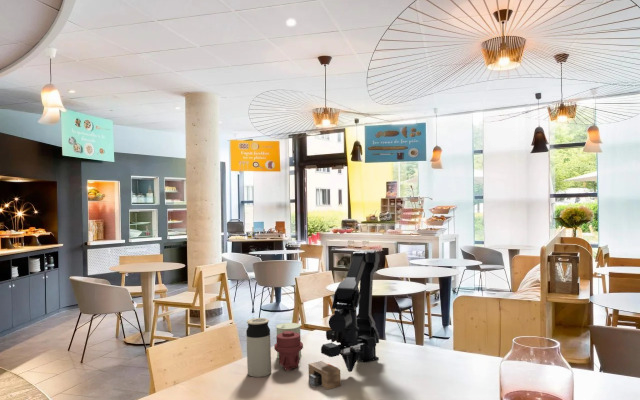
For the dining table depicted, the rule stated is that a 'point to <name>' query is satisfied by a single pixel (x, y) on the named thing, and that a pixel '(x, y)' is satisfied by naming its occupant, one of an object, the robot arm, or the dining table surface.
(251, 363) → the travel mug
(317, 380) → the pin
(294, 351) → the mechanical component
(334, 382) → the block
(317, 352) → the dining table surface
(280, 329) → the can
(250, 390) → the dining table surface
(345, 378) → the dining table surface
